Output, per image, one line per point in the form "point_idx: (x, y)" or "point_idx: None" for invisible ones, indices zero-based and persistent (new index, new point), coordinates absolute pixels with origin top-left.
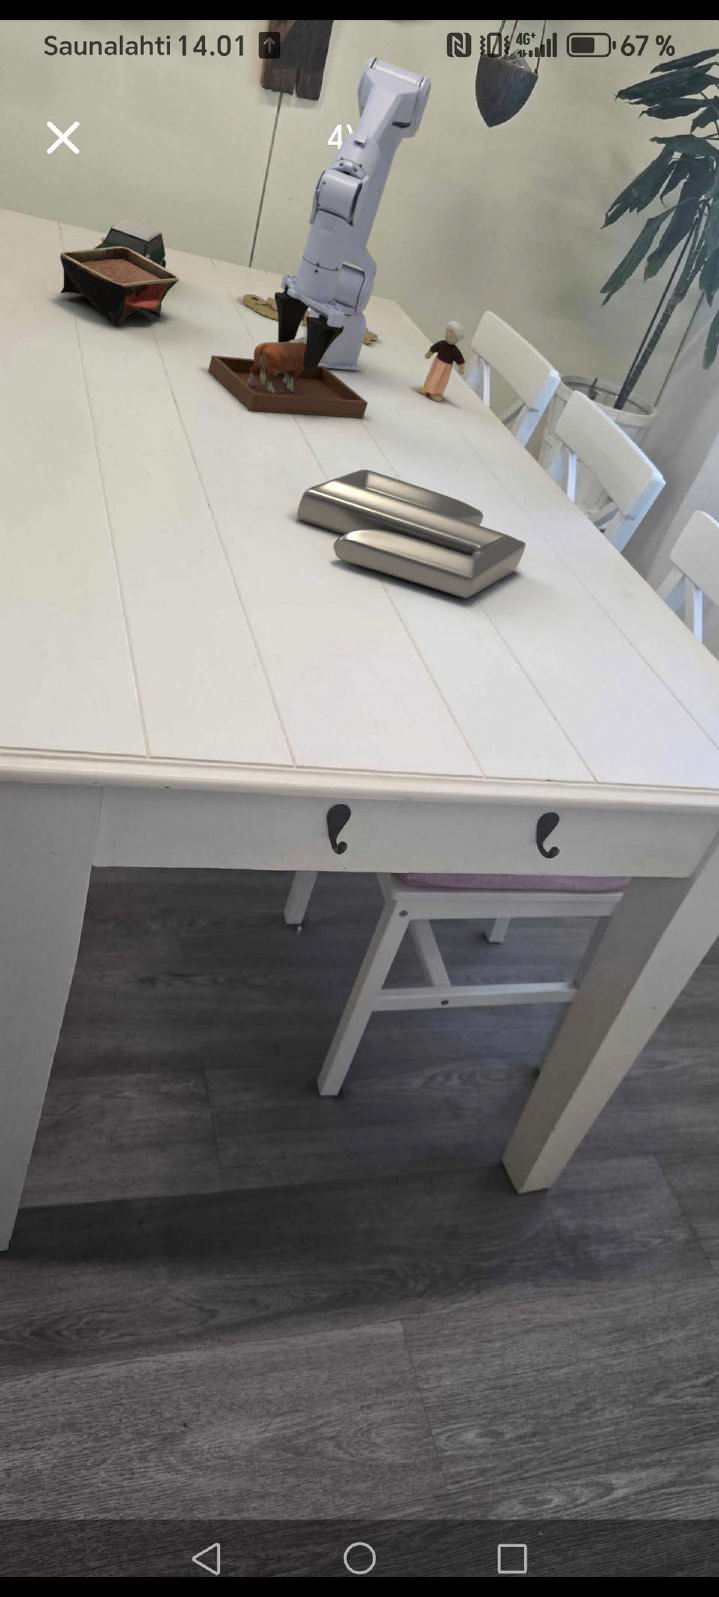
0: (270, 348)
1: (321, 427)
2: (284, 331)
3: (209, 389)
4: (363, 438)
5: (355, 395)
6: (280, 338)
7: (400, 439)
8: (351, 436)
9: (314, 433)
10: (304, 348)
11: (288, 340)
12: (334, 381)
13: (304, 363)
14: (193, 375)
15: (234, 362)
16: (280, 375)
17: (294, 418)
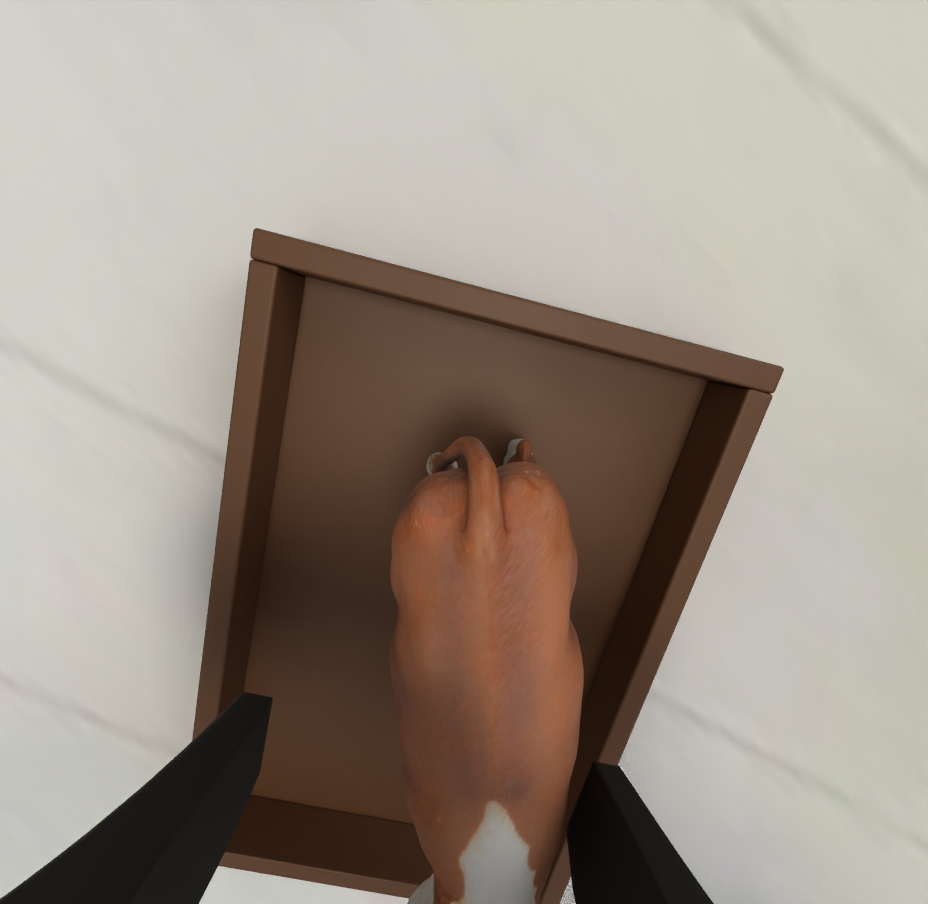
0: (431, 547)
1: (121, 526)
2: (624, 877)
3: (545, 186)
4: (27, 651)
5: (253, 854)
6: (608, 796)
7: (35, 803)
8: (41, 608)
9: (55, 437)
10: (430, 861)
11: (584, 843)
12: (427, 869)
13: (246, 701)
14: (708, 222)
15: (693, 489)
16: (586, 699)
17: (209, 453)
